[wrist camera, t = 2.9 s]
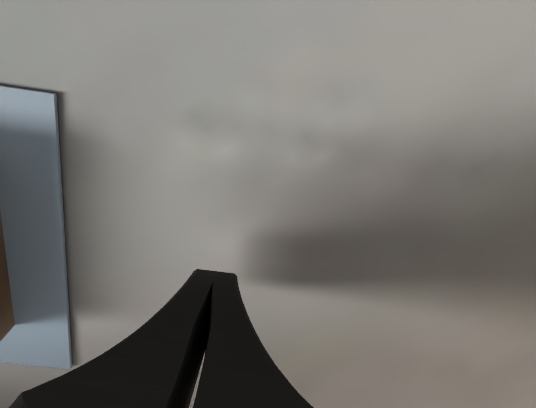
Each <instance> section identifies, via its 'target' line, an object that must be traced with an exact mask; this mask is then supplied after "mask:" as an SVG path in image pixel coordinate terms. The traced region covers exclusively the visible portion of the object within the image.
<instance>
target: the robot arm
mask: <svg viewBox="0 0 536 408" xmlns="http://www.w3.org/2000/svg"><path fill="white" fill-rule="evenodd" d="M204 352H205V358H204V363H203V367H202V372H201V376H200V381H199V385H198V389H197V394H196V398H195V402H194V406H193V408H313V407H312V406H311V405H310V404H309V403H308V402H307V401H306V400H305V399H304V398H303V397H302V396H301V395H300V394H299V393H298V392H297V391H296V390H295V389H294V387H293V386H292V385H291V384H290V382H289V381H288V380H287V379H286V377H285V376H284V375H283V374H282V372H281V371H280V370H279V369H278V367H277V366H276V365H275V363H274V362H273V360H272V359H271V357H270V356H269V354H268V353H267V351H266V349H265V348H264V346H263V345H262V343H261V341H260V339H259V337H258V336H257V334H256V332H255V330H254V328H253V326H252V323H251V321H250V319H249V317H248V314H247V312H246V309H245V307H244V304H243V301H242V298H241V295H240V291H239V287H238V281H237V276H236V275H235V274H234V273H225V272H217V271H209V270H200V269H197V270H195V271H194V272H193V273H192V275H191V276H190V277H189V279H188V280H187V281H186V282H185V284H184V285H183V286H182V287H181V288H180V290H179V291H178V292H177V293H176V294H175V295H174V296H173V297H172V298H171V299H170V300H169V301H168V302H167V304H166V305H165V306H164V307H162V308H161V309H160V310H159V311H158V312H157V313H156V314H155V315H154V316H153V317H152V318H151V319H150V320H148V321H147V322H146V323H145V324H144V325H142V326H141V327H140V328H139V329H138V330H136V331H135V332H134V333H132V334H131V335H130V336H128V337H127V338H126V339H124V340H123V341H121V342H120V343H118V344H117V345H115V346H114V347H112V348H111V349H110V350H108V351H106V352H105V353H103V354H102V355H100V356H98V357H97V358H95V359H93V360H91V361H89V362H88V363H86V364H84V365H82V366H80V367H78V368H76V369H74V370H72V371H70V372H68V373H66V374H64V375H62V376H60V377H58V378H55V379H53V380H51V381H48V382H46V383H44V384H41V385H39V386H37V387H35V388H32V389H30V390H27V391H25V392H22V393H21V394H20V395H19V396H18V398H17V399H16V400H15V401H14V402H13V404H12V405H11V406H10V407H9V408H189V405H190V401H191V398H192V394H193V391H194V387H195V384H196V380H197V377H198V373H199V370H200V366H201V363H202V359H203V356H204Z"/></svg>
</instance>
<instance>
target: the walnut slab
mask: <svg viewBox="0 0 536 408" xmlns="http://www.w3.org/2000/svg"><path fill="white" fill-rule="evenodd" d="M14 326H15V324H14V316H13V308H12V300H11V292H10V284H9V276H8V268H7V260H6V252H5V244H4V236H3V228H2V220H1V212H0V341H1V340H2V339H3V338H4V337H5V336H6V335H7V333H8V332H9V331H10V330H11V329H12V328H13V327H14Z"/></svg>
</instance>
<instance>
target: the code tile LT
mask: <svg viewBox="0 0 536 408" xmlns="http://www.w3.org/2000/svg"><path fill="white" fill-rule="evenodd" d="M0 212H1V220H2V228H3V236H4V244H5V252H6V260H7V268H8V276H9V284H10V292H11V300H12V308H13V316H14V324H15V326H14V327H13V328H12V329H11V330H10V331H9V332H8V333H7V335H6V336H5V337H4V338H3V339H2V340H1V341H0V363H10V364H20V365H30V366H40V367H50V368H60V369H71V368H72V355H71V337H70V320H69V303H68V285H67V268H66V250H65V233H64V216H63V198H62V181H61V164H60V146H59V129H58V111H57V94H56V93H49V92H43V91H36V90H29V89H22V88H16V87H9V86H2V85H0Z"/></svg>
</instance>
